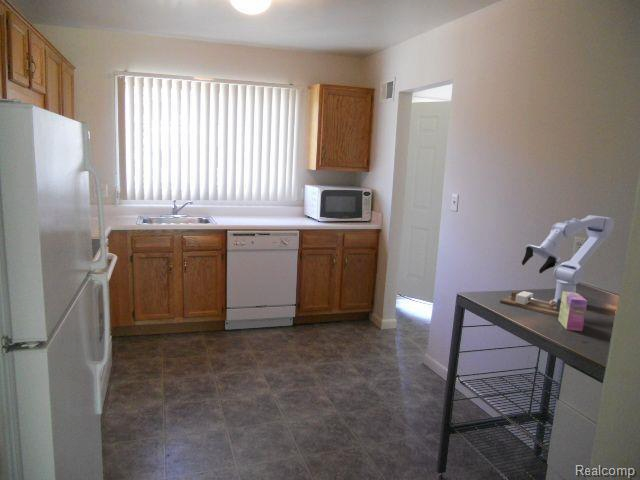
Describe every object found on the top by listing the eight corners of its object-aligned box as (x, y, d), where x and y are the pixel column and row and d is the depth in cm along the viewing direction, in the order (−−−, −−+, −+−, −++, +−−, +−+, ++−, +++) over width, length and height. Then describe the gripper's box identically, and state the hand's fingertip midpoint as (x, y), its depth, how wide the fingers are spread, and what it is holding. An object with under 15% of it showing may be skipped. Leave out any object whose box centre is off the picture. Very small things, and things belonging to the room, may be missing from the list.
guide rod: (515, 296, 205) (515, 294, 205) (562, 307, 193) (562, 304, 192) (514, 297, 204) (514, 294, 204) (561, 307, 192) (561, 305, 191)
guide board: (509, 297, 212) (510, 288, 211) (573, 312, 195) (574, 301, 194) (499, 302, 204) (500, 292, 203) (565, 318, 186) (566, 307, 186)
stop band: (550, 306, 196) (551, 299, 196) (553, 306, 195) (554, 300, 195) (548, 307, 194) (549, 300, 194) (551, 308, 193) (552, 301, 193)
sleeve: (522, 298, 207) (523, 291, 206) (532, 300, 204) (533, 293, 204) (515, 302, 200) (516, 294, 200) (524, 304, 197) (525, 296, 197)
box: (583, 331, 172) (587, 300, 170) (566, 329, 173) (570, 298, 171) (574, 322, 182) (578, 292, 180) (558, 320, 183) (562, 291, 181)
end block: (559, 309, 195) (560, 297, 194) (566, 310, 193) (568, 299, 192) (556, 311, 192) (557, 299, 191) (564, 312, 190) (565, 300, 189)
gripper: (533, 231, 199) (514, 254, 196) (567, 246, 190) (547, 270, 186) (534, 242, 204) (515, 264, 201) (567, 256, 195) (548, 279, 191)
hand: (531, 267), depth 194 cm, fingers open, 7 cm apart
